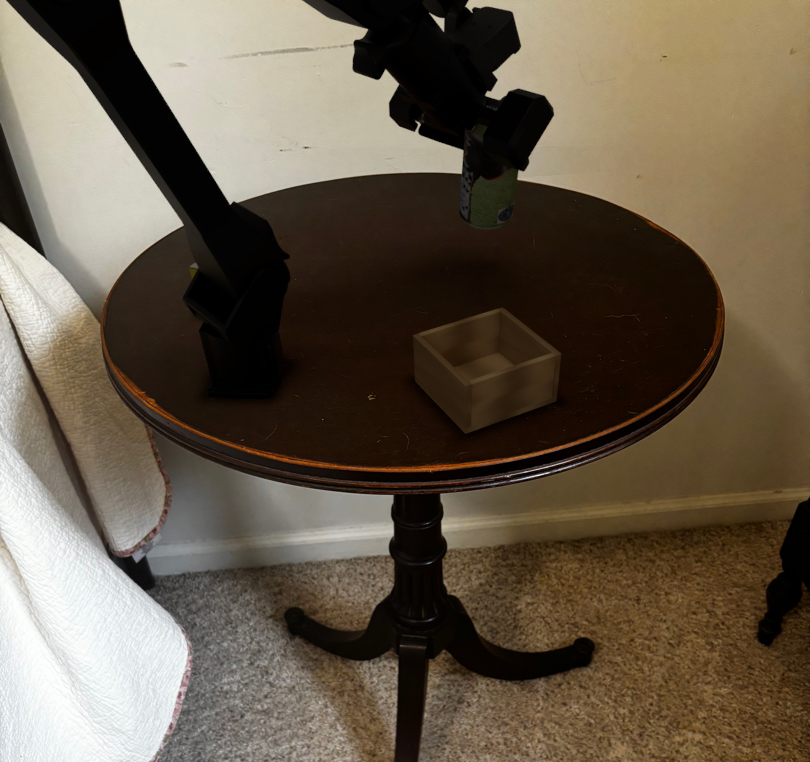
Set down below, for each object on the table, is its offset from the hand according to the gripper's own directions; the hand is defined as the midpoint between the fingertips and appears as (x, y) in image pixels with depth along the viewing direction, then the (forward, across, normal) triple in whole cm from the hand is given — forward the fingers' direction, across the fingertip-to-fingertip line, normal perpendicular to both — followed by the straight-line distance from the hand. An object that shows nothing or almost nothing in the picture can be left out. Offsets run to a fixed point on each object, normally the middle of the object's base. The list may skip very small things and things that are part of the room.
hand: (505, 159), depth 85 cm
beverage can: (+4, +1, +6) cm, 7 cm away
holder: (-4, -17, +22) cm, 28 cm away
